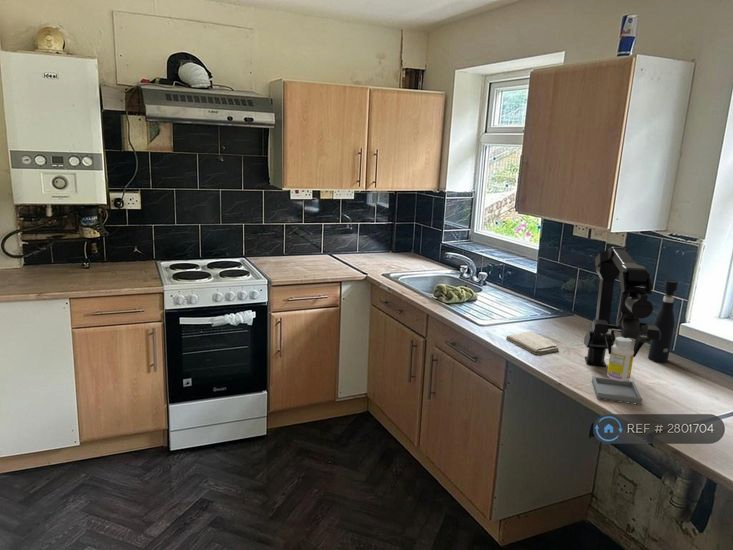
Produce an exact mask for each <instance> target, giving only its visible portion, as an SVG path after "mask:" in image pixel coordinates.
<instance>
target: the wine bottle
mask: <svg viewBox="0 0 733 550" xmlns="http://www.w3.org/2000/svg"><path fill="white" fill-rule="evenodd" d="M678 284H679V282H678V281H677V280H675V279H666V280H665V282H664V290H665V294H664V296H663V299H662V301H661V307H660V309H659V311H658V313H657V314H656V316H655V318H654V321H653V326H657V328H658V329H659V330H660V332H661V338H660V340H653V339H651V341H650V343H649V350H648V355H647V358H648V360H649V361H652V362H654V363H658V362H659V363H660V364H665V363H666V364H667V362H668V359H669V354H670V351H671V344H672V339H673V334H674V327H675V314H674V311H673V310H674V304H675V302H674V299H675V297H674V293H675V292H676V291H677V289H678Z"/></svg>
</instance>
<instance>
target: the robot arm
mask: <svg viewBox="0 0 733 550" xmlns="http://www.w3.org/2000/svg"><path fill="white" fill-rule="evenodd" d="M594 263H595V264H594V267H595V272H596V273H597V275H598V277H599V284H598V285H599V287H598V292H597V293H598V295H597V302H596V303H597V304H596V313H595V318H594V319H593V320H592V322H591V323H590V325H589V330H588V331H587V333H586V334H585V335H584V337H583V344H584V346H585V347H586V348H588V349H587V355H586V356H584V359H585V363H586V365H589V366H590V365H591V366H597V367H599V366H600V367H605V368H606V367H607V364H606V361H605V358H606V353H607V352H608V354H609V355H610V354H611V347H612V346H613V345H615V340H616V335H615V332H619V333H620V337H623V338H629V339H632V340H634V345H633V350H634V356H633V358H635V357H636V356H637V354H638V353H639V351H640V350H641V348H642V347H643V346H644V344H646V343H647V342H651V339H653V340H660V338H661V332H660V330H659V329H658V328H657V326H654V324H653V325H651V324H650V325H649V324H648V323H647V322H641V321H640V319H646V318H649V316H650V315H652V313H653V311H654V305H653V303H652V302H651V301H650V300H649V299H648V295H651V294H652V289H653V283H652V278H651V276H650V272H649V271H648V269H647V268H646V267H645V266H643V265H641V264H637V263H636V262H635V261H634V260H633V258H632V257H631V256H630V254H629V253H628V249H627V248H625V247H624V246H611V247H609V248H608V249H606V250H603V251H600V252H599V253H598V255H597V256H596V257H595V260H594ZM617 278H618V280H619V284H620V290H621V292H620V298H619V304H618V310H617V315H616V322H615V323H616V324H611V314H612V304H613V297H614V296H613V295H614V288H615V281H616V280H617Z"/></svg>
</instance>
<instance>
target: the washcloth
mask: <svg viewBox="0 0 733 550" xmlns="http://www.w3.org/2000/svg"><path fill="white" fill-rule="evenodd" d="M505 339H506V340H507V341H509V342H511V343H512V342H513V344H514V343H515V344H514V345H517V346H518V347H521V348H522V349H524V350H527V351H528V352H529V353H531V352H532V354H533V353H534V354H533V355H535V354H537V355H545V354H549V353H556V352H558V351H559V350H560V349H559V347H558V344H556V343H554V342H552V340H551V339H549V338H546V337H544V336H542V335H539V334H538V333H535V332H533V331H525V332H521V333H515V334H509V335H507V336H506V337H505Z"/></svg>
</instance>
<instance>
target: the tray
mask: <svg viewBox="0 0 733 550" xmlns="http://www.w3.org/2000/svg"><path fill="white" fill-rule="evenodd" d="M591 384H592V387H593V391H594V394H596V395H595V396H596V397H597V398H600V399H599V400H603V399H607V400H606V401H610V400H613V401H612V402H617V401H622V402H621V403H624V402H629V403H628V404H631V403H636V404H635V405H638V404H641V405H642V401H643V398H642V396H641V394H640V392H639V389H638V387H637V386H636V384H635V381H633V380H632V381H631V380H628V381H616V380H613V379H611V378H609V377H602V376H594V375H592V377H591ZM597 398H596V399H597Z"/></svg>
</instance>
